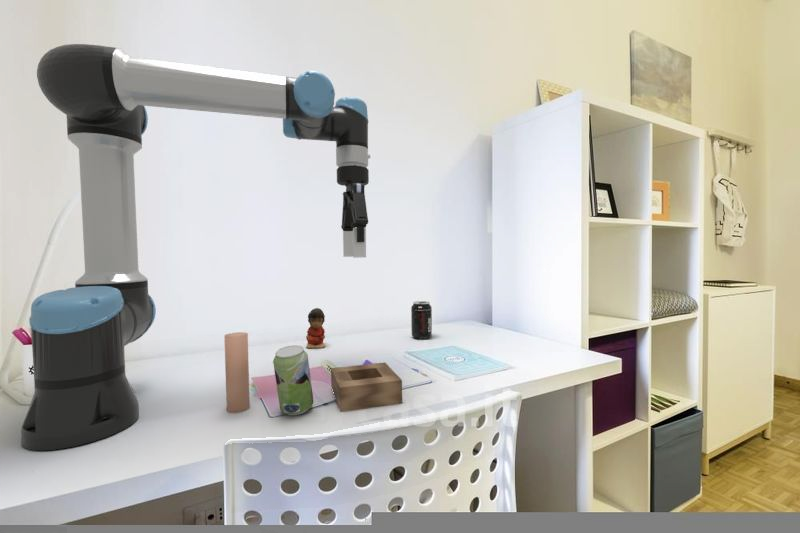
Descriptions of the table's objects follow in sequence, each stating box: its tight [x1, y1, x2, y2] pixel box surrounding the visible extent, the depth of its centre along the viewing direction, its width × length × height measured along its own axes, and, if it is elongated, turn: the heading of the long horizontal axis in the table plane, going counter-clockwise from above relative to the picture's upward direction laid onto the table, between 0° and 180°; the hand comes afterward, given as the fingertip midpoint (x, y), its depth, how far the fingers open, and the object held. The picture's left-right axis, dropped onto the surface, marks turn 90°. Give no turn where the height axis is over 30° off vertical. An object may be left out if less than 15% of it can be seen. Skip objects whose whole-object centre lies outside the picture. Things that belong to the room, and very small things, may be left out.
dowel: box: [224, 331, 251, 414], centre depth 71 cm, size 4×4×14 cm
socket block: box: [330, 362, 403, 412], centre depth 76 cm, size 12×12×4 cm
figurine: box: [305, 307, 326, 349], centre depth 115 cm, size 6×6×12 cm
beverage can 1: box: [272, 345, 314, 416], centre depth 69 cm, size 6×7×12 cm
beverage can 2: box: [410, 300, 433, 340], centre depth 126 cm, size 7×7×12 cm
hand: (353, 257), depth 90 cm, fingers open, 13 cm apart
